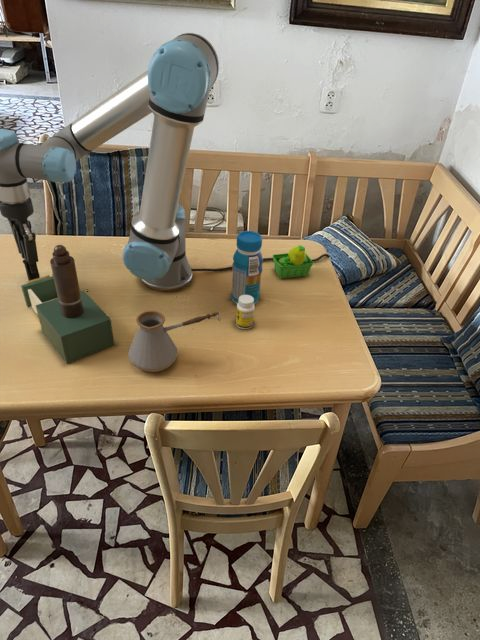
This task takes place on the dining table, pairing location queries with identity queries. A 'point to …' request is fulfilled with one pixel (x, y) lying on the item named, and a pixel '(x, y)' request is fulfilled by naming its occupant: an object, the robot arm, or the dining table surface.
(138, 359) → the coffee pot
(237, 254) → the beverage bottle
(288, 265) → the fruit basket
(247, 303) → the supplement bottle
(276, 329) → the dining table surface
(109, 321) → the cabinet
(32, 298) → the drawer
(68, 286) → the pepper mill
